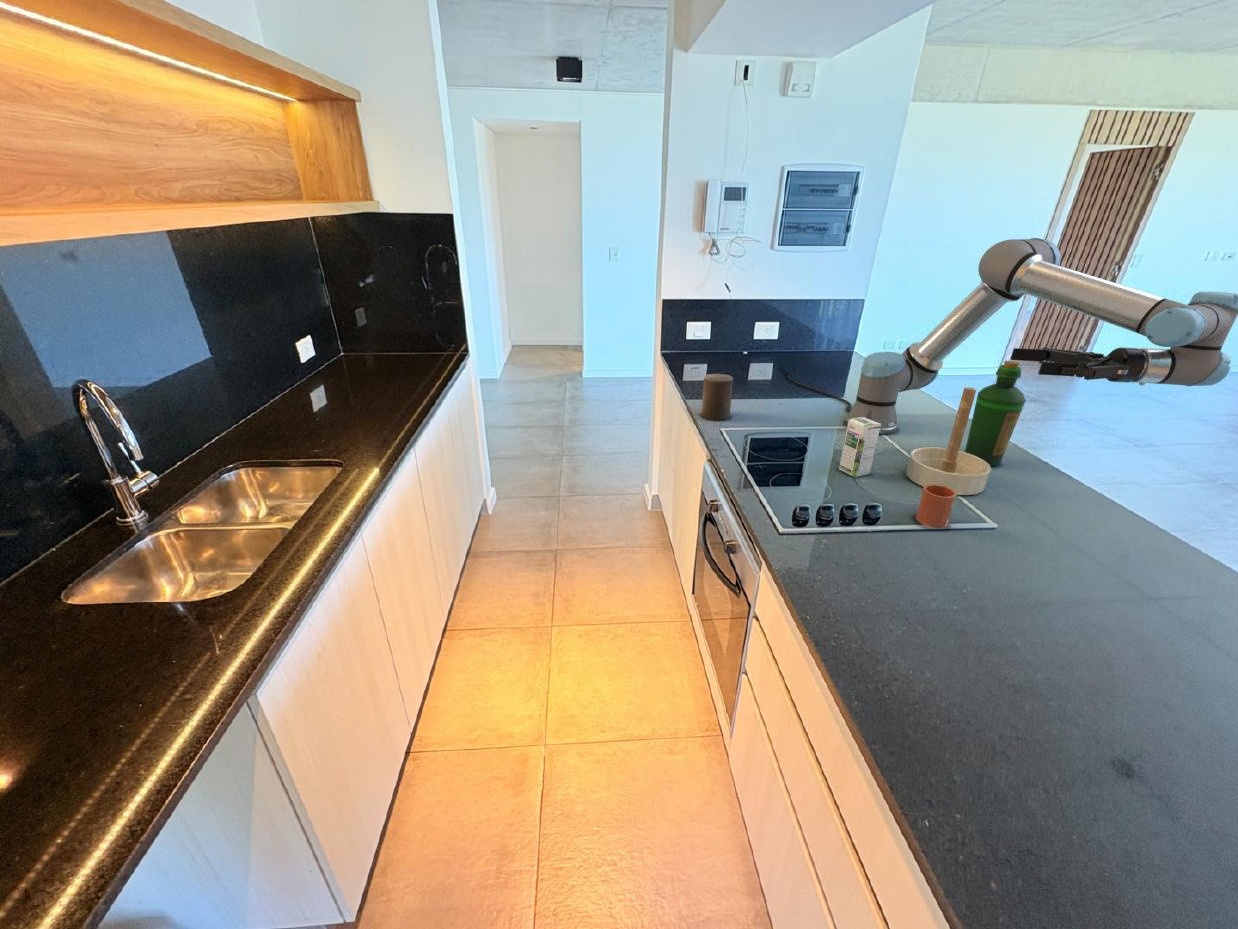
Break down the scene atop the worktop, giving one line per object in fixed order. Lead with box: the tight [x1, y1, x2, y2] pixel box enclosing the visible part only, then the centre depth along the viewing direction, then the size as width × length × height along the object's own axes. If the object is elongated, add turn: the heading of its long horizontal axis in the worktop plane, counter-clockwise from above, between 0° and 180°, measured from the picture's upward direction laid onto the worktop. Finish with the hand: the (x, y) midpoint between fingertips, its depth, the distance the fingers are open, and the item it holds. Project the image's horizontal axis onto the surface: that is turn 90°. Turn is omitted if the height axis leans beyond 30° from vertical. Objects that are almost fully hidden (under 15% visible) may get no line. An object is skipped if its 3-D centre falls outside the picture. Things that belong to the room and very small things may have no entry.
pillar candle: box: [700, 373, 734, 422], centre depth 179 cm, size 10×10×15 cm
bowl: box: [905, 446, 992, 496], centre depth 135 cm, size 18×18×6 cm
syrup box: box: [838, 417, 881, 478], centre depth 138 cm, size 6×6×14 cm
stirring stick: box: [939, 387, 977, 473], centre depth 131 cm, size 3×2×24 cm, turn 78°
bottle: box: [964, 360, 1027, 467], centre depth 142 cm, size 11×11×28 cm
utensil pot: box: [915, 484, 958, 529], centre depth 116 cm, size 6×6×8 cm
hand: (1025, 360), depth 121 cm, fingers open, 13 cm apart
